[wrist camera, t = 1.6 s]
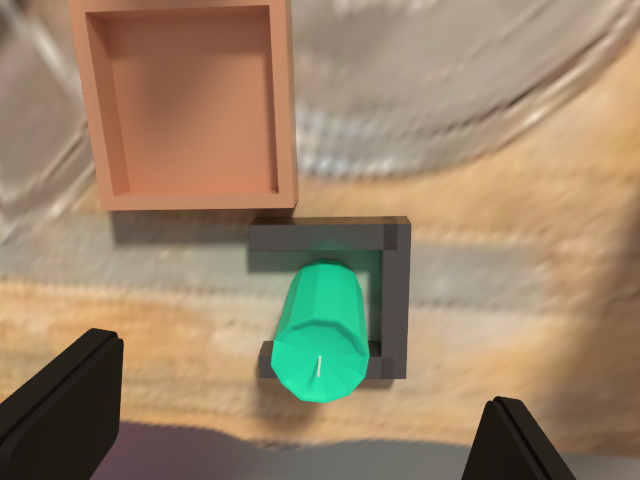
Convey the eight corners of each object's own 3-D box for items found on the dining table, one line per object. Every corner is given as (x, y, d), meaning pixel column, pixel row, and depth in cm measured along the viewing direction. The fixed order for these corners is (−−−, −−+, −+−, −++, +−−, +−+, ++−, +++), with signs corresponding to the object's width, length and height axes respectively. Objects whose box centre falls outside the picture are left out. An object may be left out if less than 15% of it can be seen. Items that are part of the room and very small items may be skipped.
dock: (406, 216, 33) (411, 223, 31) (401, 361, 37) (405, 378, 34) (255, 218, 34) (249, 225, 31) (265, 361, 37) (260, 377, 35)
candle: (332, 245, 34) (328, 308, 23) (375, 299, 35) (392, 386, 24) (275, 285, 35) (244, 365, 24) (319, 337, 37) (309, 437, 25)
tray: (290, 1, 30) (284, -14, 26) (298, 199, 33) (293, 207, 30) (97, 9, 30) (66, -5, 27) (126, 201, 34) (102, 210, 31)
